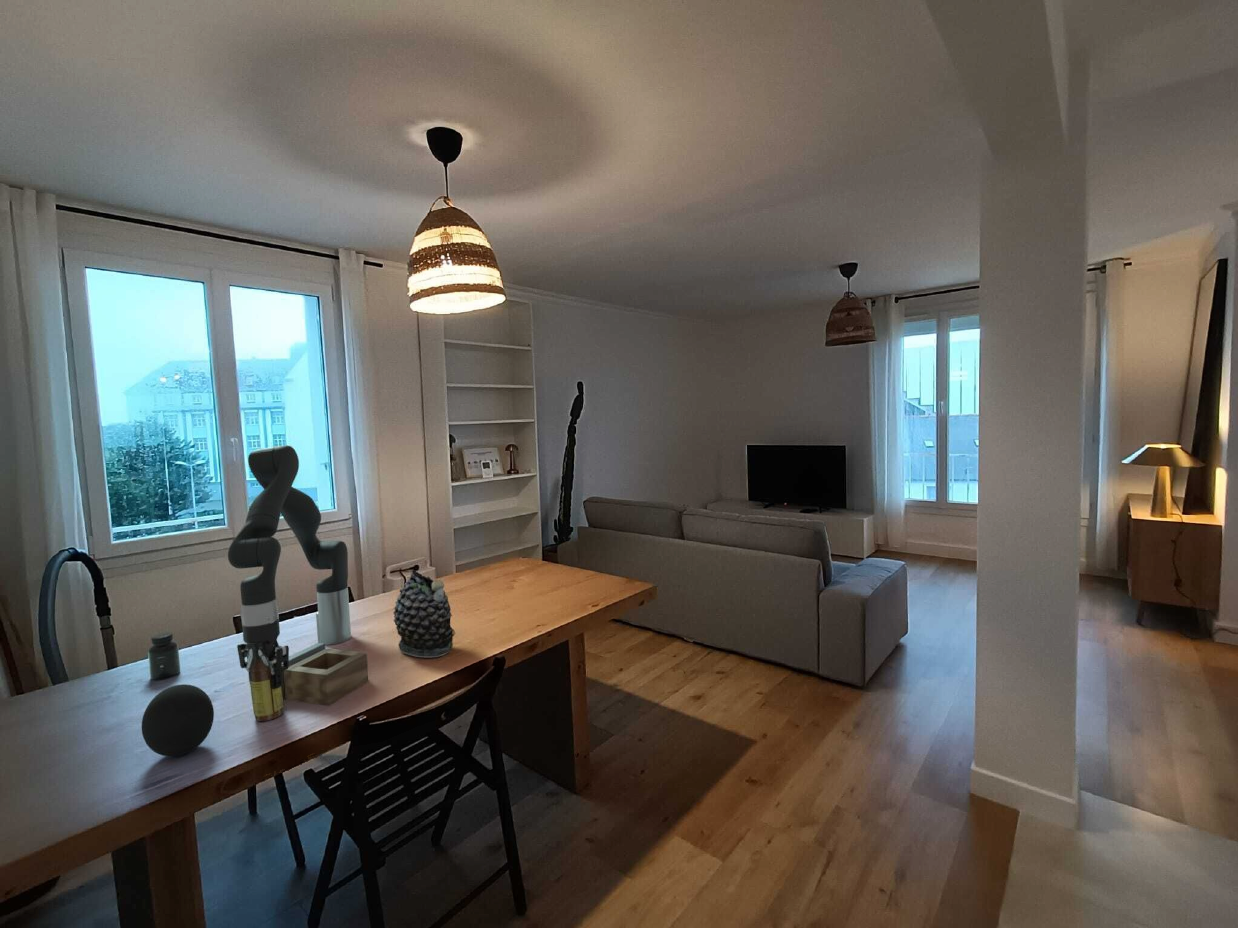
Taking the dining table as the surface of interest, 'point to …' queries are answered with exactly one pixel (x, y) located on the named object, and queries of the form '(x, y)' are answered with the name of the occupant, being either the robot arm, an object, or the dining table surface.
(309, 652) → the backstop
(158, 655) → the supplement bottle
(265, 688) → the sauce bottle
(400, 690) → the dining table surface
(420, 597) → the scaly dragon egg
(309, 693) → the open wooden box
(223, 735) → the dining table surface
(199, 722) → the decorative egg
